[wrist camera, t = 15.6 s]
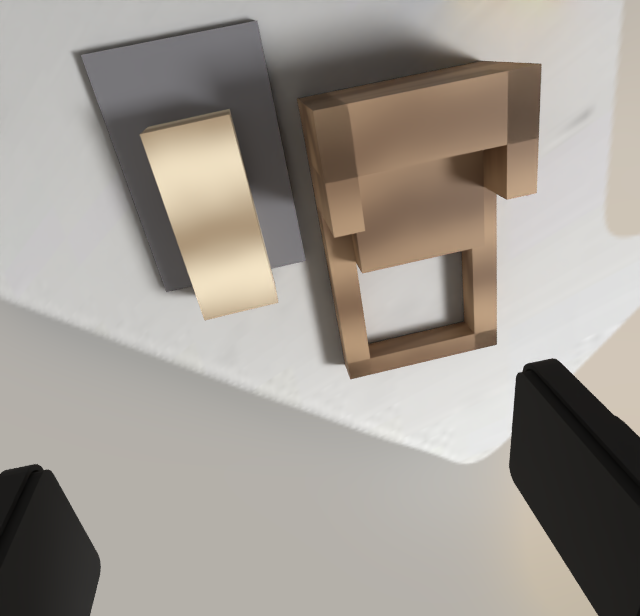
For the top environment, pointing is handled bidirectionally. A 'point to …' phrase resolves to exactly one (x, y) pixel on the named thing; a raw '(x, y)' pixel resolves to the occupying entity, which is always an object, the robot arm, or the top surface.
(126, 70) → the mat
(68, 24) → the top surface
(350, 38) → the top surface
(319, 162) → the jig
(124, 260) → the top surface
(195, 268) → the slab
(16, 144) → the top surface
